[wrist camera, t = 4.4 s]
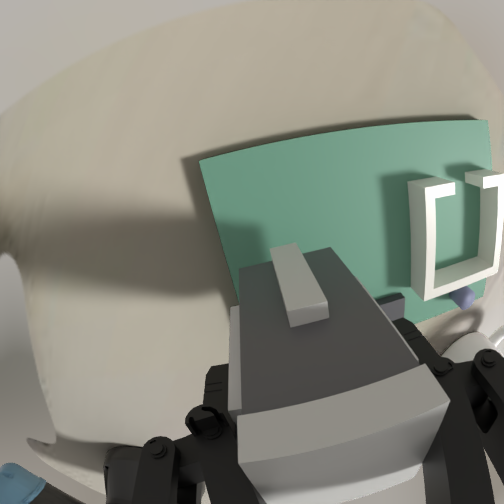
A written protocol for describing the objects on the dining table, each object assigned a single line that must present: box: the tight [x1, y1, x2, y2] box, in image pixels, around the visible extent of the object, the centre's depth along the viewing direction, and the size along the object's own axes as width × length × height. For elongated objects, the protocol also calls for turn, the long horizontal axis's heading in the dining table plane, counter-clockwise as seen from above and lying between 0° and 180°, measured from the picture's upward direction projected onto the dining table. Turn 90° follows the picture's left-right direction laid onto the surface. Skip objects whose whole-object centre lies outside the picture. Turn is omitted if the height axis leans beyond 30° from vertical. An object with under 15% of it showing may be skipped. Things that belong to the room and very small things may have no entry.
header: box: [407, 169, 504, 301], centre depth 18 cm, size 8×8×2 cm
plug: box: [237, 242, 450, 504], centre depth 11 cm, size 5×6×11 cm
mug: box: [441, 325, 504, 363], centre depth 21 cm, size 12×8×10 cm
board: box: [199, 120, 492, 324], centre depth 19 cm, size 22×16×3 cm
